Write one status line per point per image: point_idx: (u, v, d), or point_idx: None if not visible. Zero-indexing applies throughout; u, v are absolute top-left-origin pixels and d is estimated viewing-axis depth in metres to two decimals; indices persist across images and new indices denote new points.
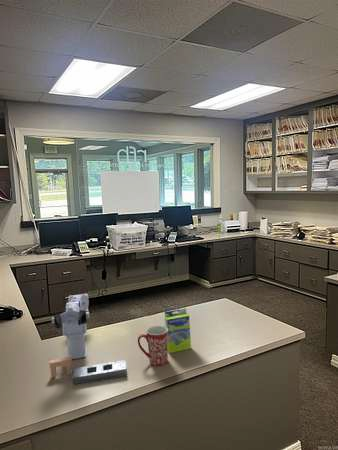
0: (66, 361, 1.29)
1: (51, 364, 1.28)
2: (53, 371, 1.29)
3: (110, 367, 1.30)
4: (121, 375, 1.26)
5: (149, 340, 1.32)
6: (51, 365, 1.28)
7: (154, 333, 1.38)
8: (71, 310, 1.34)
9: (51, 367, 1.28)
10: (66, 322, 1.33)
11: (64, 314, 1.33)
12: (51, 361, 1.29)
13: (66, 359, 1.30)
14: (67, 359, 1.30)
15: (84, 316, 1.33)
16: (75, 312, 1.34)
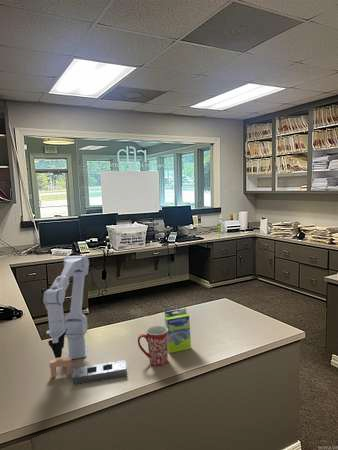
0: (66, 361, 1.29)
1: (51, 364, 1.28)
2: (53, 371, 1.29)
3: (110, 367, 1.30)
4: (121, 375, 1.26)
5: (149, 340, 1.32)
6: (51, 365, 1.28)
7: (154, 333, 1.38)
8: None
9: (51, 367, 1.28)
10: None
11: None
12: (51, 361, 1.29)
13: (66, 359, 1.30)
14: (67, 359, 1.30)
15: None
16: None
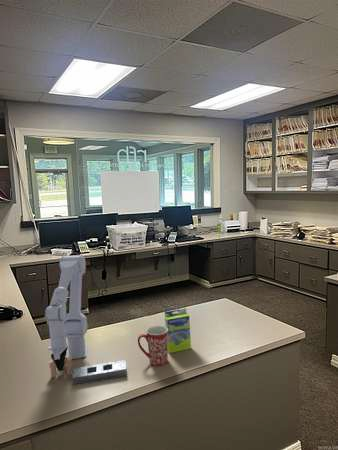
0: (66, 361, 1.29)
1: (51, 364, 1.28)
2: (53, 371, 1.29)
3: (110, 367, 1.30)
4: (121, 375, 1.26)
5: (149, 340, 1.32)
6: (51, 365, 1.28)
7: (154, 333, 1.38)
8: None
9: (51, 367, 1.28)
10: None
11: None
12: (51, 361, 1.29)
13: (66, 359, 1.30)
14: (67, 359, 1.30)
15: None
16: None
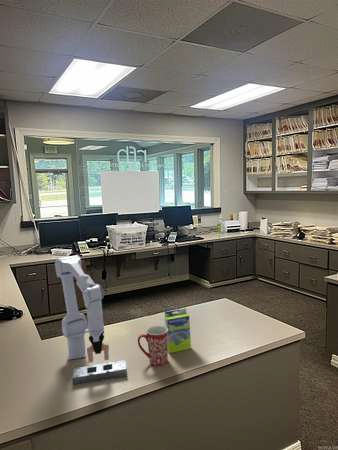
0: (104, 345, 1.26)
1: (88, 349, 1.25)
2: (90, 356, 1.25)
3: (110, 367, 1.30)
4: (121, 375, 1.26)
5: (149, 340, 1.32)
6: (88, 350, 1.25)
7: (154, 333, 1.38)
8: None
9: (88, 352, 1.25)
10: None
11: None
12: (88, 346, 1.26)
13: (103, 344, 1.27)
14: (105, 344, 1.27)
15: None
16: None
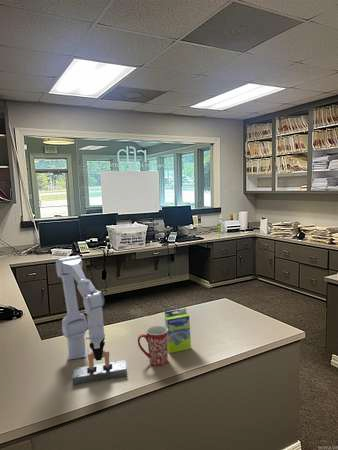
0: (105, 352, 1.26)
1: (89, 355, 1.25)
2: (91, 363, 1.25)
3: (110, 367, 1.30)
4: (121, 375, 1.26)
5: (149, 340, 1.32)
6: (89, 356, 1.25)
7: (154, 333, 1.38)
8: None
9: (89, 359, 1.25)
10: None
11: None
12: (89, 352, 1.26)
13: (104, 351, 1.27)
14: (105, 350, 1.27)
15: None
16: None
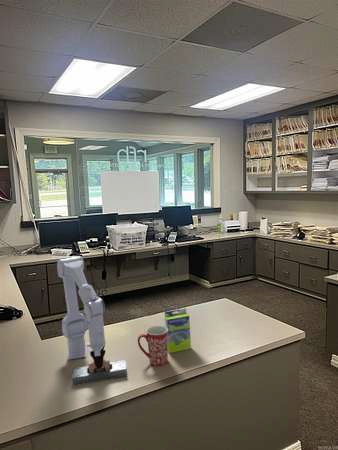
0: (105, 362, 1.27)
1: (90, 365, 1.25)
2: (92, 372, 1.26)
3: (110, 367, 1.30)
4: (121, 375, 1.26)
5: (149, 340, 1.32)
6: (90, 366, 1.26)
7: (154, 333, 1.38)
8: None
9: (90, 368, 1.26)
10: None
11: None
12: (90, 362, 1.27)
13: (105, 360, 1.27)
14: (106, 360, 1.28)
15: None
16: None
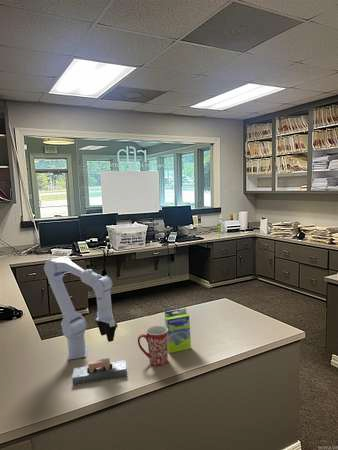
0: (105, 362, 1.26)
1: (90, 365, 1.25)
2: (92, 372, 1.26)
3: (110, 367, 1.30)
4: (121, 375, 1.26)
5: (149, 340, 1.32)
6: (90, 366, 1.25)
7: (154, 333, 1.38)
8: None
9: (90, 368, 1.26)
10: None
11: None
12: (90, 362, 1.26)
13: (105, 360, 1.27)
14: (106, 360, 1.27)
15: None
16: None
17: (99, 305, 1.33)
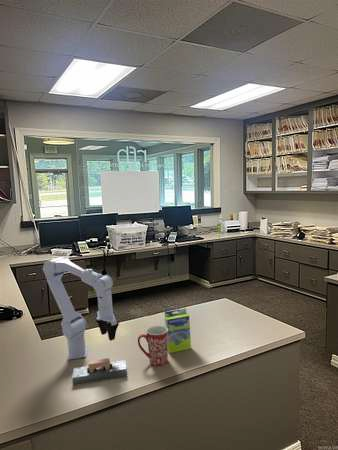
0: (105, 362, 1.26)
1: (90, 365, 1.25)
2: (92, 372, 1.26)
3: (110, 367, 1.30)
4: (121, 375, 1.26)
5: (149, 340, 1.32)
6: (90, 366, 1.25)
7: (154, 333, 1.38)
8: None
9: (90, 368, 1.26)
10: None
11: None
12: (90, 362, 1.26)
13: (105, 360, 1.27)
14: (106, 360, 1.27)
15: None
16: None
17: (100, 304, 1.34)
